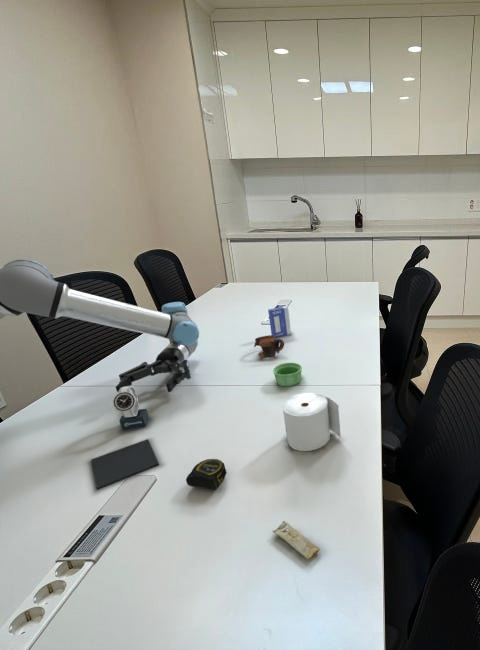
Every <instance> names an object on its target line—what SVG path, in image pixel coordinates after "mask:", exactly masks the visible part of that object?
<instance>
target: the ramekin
mask: <svg viewBox="0 0 480 650" xmlns="http://www.w3.org/2000/svg"><path fill="white" fill-rule="evenodd" d="M302 369H303V367H302V365H301V364H300V363H297V362H283V363H280V364H278V365H276V366H274V367H273V369H272V372H273V375H274V379H275V383H276V384H277V385H278V386H281V387H292V386H295V385H298V384H299V383H300V382H301V380H302Z"/></svg>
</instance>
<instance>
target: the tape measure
mask: <svg viewBox="0 0 480 650" xmlns="http://www.w3.org/2000/svg"><path fill="white" fill-rule="evenodd" d="M227 474H228V471H227V469H226V465H225V463H224V462H223V461H222V460H220V459H218V458H207V459H203V460H202V461H200V462H198V463H196V465H194V467H193V468H192V469H191V472H189V474H187V476H186V478H185V482H186V485H188V486H190V487H192V488H193V487H194V488H201V489H205V490H206V489H207V490H209V491H216V490H217V489H218V488H219V485H220V484H221V483H222V482H224V480H225V479H226V475H227Z"/></svg>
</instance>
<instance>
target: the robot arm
mask: <svg viewBox="0 0 480 650" xmlns="http://www.w3.org/2000/svg"><path fill="white" fill-rule="evenodd" d="M23 313H25V314H30V315H35V316H41V317H46V318H49V319H50V318H51V319H55V320H56V319H59V318H61V317H65V318H68V319H69V318H70V319H73V320H74V319H75V320H79V321H84V322H88V323H94V324H97V325H102V326H107V327H112V328H117V329H121V330H125V331H131V332H134V333H140V334H145V335H150V336H153V337H158V338H159V337H160V338H163V339H167V340H168V341H169V343H168V345H166V346H165V348H163V349H162V351H161V352H160V353H158V355H157V356H156V358H155V361H153V362H152V363H148V362H147V361H143V362H141V364H138V365H136V366H135V367H133V368H130V369H129V370H126V371H123V372H122V373H120V374H118V377H119V380H120V381H119V382H118V384H116V385H115V390H116V393H117V392H118V391H119V390H120V388H121V387H126V386H133V383H134V382H136V381H139V380H142V379H144V378H147V377H149V376H150V377H153V376H156V375H158V374H167V373H169V374H171V375H172V376H171V377H170V378H169V379H168V380H167V382H166V383H165V386H166V389H167V393H171V392H173V390H174V389H175V388H176V386H178V385H179V384H181V383H182V381H184V380H185V379H186V380H190V379H192V376H191V371H190V369H189V367H190V365H189V362H188V361H189V360H188V359H189V358H190V356H192V354H193V353H194V352H195V351H196V349H197V348H198V346H199V337H200V330H199V328H198V326H197V324H196V323H195V322H194V321H193V320H192V319H191V317H190V316H189V315H188V309H187V307H186V304H185V303H184V302H182V301H173V302H168V303H165V304H163V305H162V306H161V311H158V310H154V309H151V308H146V307H143V306H138V305H134V304H131V303H126V302H122V301H118V300H115V299H111V298H107V297H103V296H99V295H95V294H90V293H88V292H84V291H79V290H76V289H71V288H70V287H69V286H68V285H67V284H66V283H63V282H59V281H56V280H55V277H54V276H53V274H52V272H51V271H50V270H49V269H48V268H47V267H46V266H45V265H43V264H42V263H39V262H37V261H34V260H30V259H15V260H12V261H9V262H7V263H6V264H4V265H3V267H2V268H0V320H1V319H3V318H5V317H6V316H15V317H18V316H20V315H22V314H23ZM180 368H181V369H180Z"/></svg>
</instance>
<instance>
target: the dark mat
mask: <svg viewBox="0 0 480 650" xmlns="http://www.w3.org/2000/svg"><path fill="white" fill-rule="evenodd" d="M90 461H91V465H92V470H93V475H94V479H95V485H96V489H97V490H99V489H102V488H104V487H107V486H109V485H113V484H115V483H117V482H119V481H122V480H125V479H127V478H129V477H132V476H134V475H137V474H139V473H142V472H144V471H147V470H149V469H151V468H155V467H156V466H159V465H160V462H159V460H158V458H157V456H156V454H155V452H154V449H153V447H152V445H151V442H150V440H149V439H148V438H146V439H144V440H141V441H139V442H136V443H133V444H130V445H127V446H125V447H122V448H118V449H117V450H114V451H110V452H108V453H105V454H102V455H99V456H97V457H94V458H92V459H90Z"/></svg>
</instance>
